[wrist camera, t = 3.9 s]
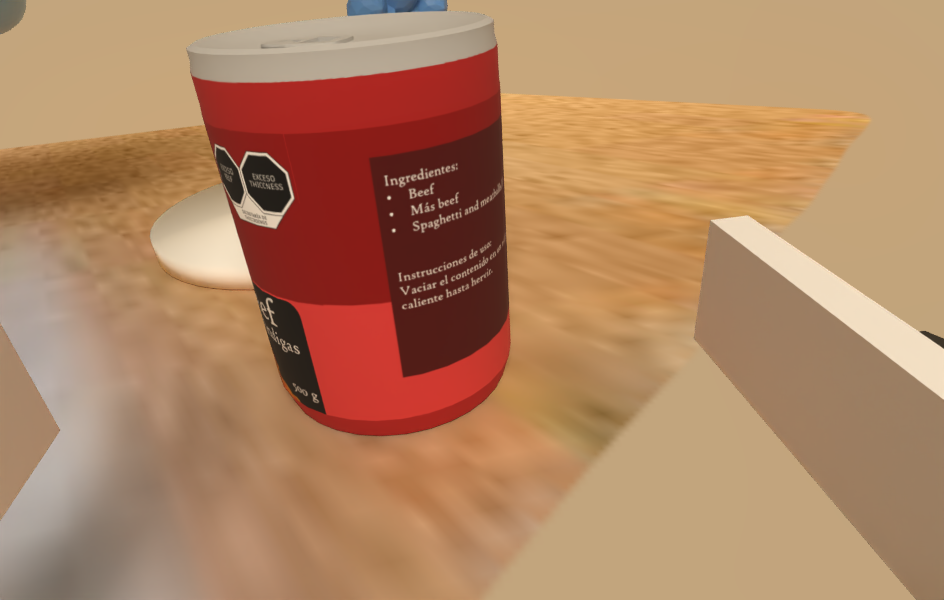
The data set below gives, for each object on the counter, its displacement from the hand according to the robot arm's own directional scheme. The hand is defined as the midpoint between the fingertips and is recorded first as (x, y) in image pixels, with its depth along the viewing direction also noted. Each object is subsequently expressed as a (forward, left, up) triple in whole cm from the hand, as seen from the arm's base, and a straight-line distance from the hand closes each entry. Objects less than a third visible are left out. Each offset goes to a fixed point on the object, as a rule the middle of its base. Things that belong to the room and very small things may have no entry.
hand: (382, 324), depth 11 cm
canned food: (-4, +7, -7) cm, 10 cm away
